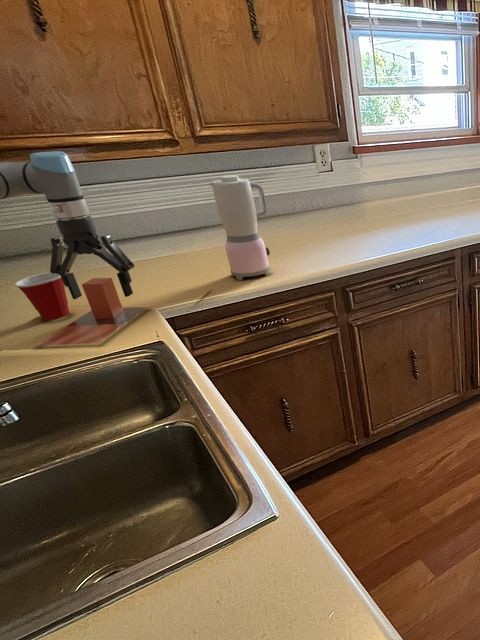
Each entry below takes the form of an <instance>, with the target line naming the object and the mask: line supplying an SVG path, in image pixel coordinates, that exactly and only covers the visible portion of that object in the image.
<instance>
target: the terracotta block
mask: <svg viewBox="0 0 480 640" xmlns="http://www.w3.org/2000/svg"><path fill="white" fill-rule="evenodd" d="M81 287H82V289H83V291H84V294H85V297H86V299H87V302H88V305H89V307H90V311H91V310H92V312H93V315H94V318H95V319H114V318H115V317H117V316H118V315H120V314H121V313H123V312H124V311H123V308H124V307H123V306H122V303H121V300H120V297H119V295H118V294H119V293H118V292H117V289H116V286H115V284H114V281H113V277H96V278H91V279H88V280H87V281H85V282H84V283H81Z"/></svg>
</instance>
